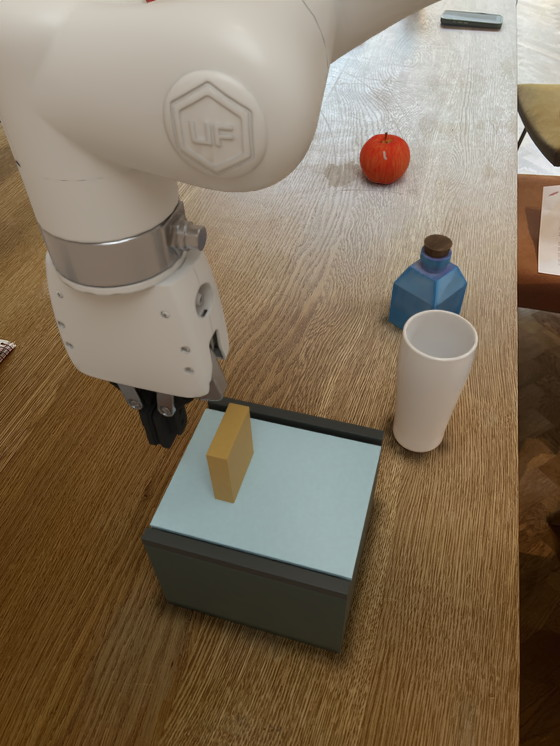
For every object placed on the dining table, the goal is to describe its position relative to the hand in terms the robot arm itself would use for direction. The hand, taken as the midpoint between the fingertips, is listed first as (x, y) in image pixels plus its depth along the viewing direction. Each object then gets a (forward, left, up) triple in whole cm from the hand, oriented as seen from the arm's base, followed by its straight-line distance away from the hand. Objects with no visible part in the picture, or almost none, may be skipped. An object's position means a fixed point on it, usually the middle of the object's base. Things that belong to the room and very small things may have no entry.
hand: (167, 431), depth 47 cm
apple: (-6, -68, -16) cm, 70 cm away
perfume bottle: (-17, -35, -16) cm, 42 cm away
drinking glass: (-19, -17, -16) cm, 30 cm away
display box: (-8, 0, -16) cm, 18 cm away
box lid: (-8, 0, -4) cm, 9 cm away
